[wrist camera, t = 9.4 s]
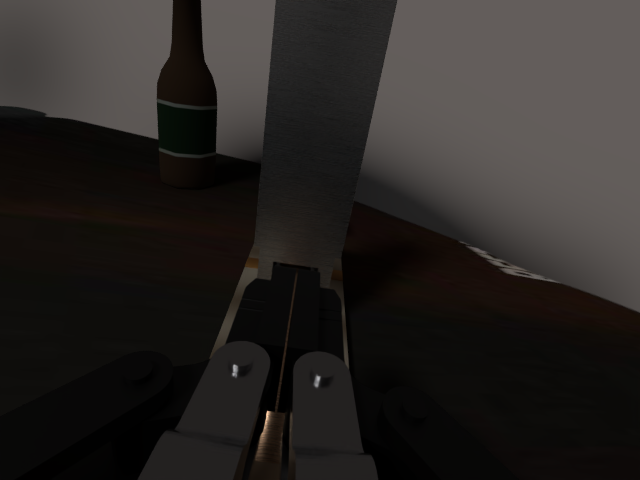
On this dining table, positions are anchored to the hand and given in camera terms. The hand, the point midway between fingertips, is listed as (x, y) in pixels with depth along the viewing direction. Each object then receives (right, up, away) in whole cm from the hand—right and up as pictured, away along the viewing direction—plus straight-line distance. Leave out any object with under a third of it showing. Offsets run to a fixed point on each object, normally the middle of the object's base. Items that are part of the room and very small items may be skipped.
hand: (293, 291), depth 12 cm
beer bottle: (-18, +10, +40) cm, 45 cm away
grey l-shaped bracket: (-1, -2, +18) cm, 18 cm away
